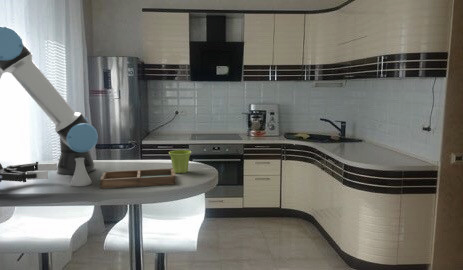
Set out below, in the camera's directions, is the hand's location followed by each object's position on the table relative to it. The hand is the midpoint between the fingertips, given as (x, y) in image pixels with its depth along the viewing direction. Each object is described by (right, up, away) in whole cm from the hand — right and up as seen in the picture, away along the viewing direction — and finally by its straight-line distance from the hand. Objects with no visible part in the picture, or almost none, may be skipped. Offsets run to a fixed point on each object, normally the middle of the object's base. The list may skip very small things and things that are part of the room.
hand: (52, 170), depth 138 cm
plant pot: (+44, -3, +24) cm, 50 cm away
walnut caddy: (+30, -5, +7) cm, 31 cm away
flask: (+9, -6, +3) cm, 11 cm away
